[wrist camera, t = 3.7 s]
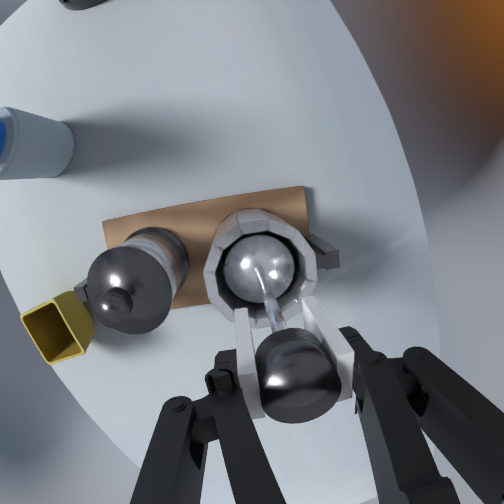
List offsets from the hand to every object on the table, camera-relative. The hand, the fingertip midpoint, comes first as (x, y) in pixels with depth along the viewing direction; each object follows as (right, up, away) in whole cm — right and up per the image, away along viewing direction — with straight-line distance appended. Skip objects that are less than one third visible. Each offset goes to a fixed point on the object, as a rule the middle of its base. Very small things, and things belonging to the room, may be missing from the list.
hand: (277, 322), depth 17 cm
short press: (-16, +3, +21) cm, 27 cm away
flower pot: (-30, -5, +24) cm, 39 cm away
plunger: (-1, +3, +12) cm, 12 cm away
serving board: (-8, +4, +23) cm, 24 cm away
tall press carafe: (0, +5, +21) cm, 22 cm away
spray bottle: (-32, +20, +17) cm, 42 cm away
